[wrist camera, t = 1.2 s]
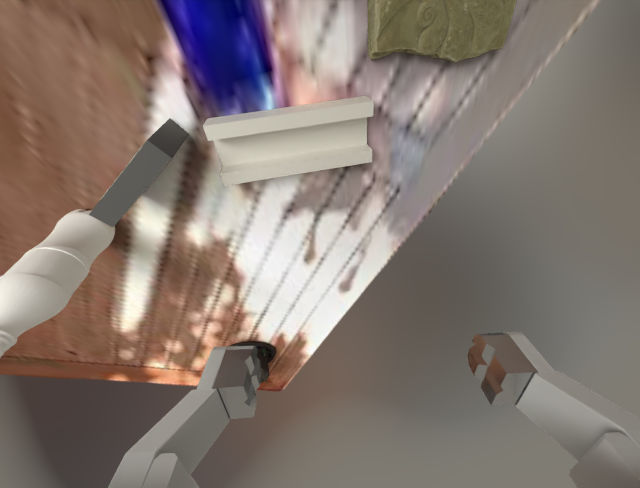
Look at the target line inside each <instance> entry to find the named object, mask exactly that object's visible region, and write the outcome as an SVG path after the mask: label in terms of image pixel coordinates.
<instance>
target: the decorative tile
mask: <svg viewBox="0 0 640 488" xmlns="http://www.w3.org/2000/svg"><path fill="white" fill-rule="evenodd" d="M516 1H517V0H368V56H369V59H377V58H382V57H384V56H387V55H389V54H391V53H393V52H405V53H409V54H412V55H415V54H416V55H419V56H422V55H428V56H429V57H431V58H441V59H446V60H448V61H451V62H457V61H459V60H463V59H467V58H472V57H477V56H479V55H481V54H484V53H486V52H488V51H492V50H497V49H502V47H503V46H504V42H505V39H506V36H507V33H508V29H509V26H510V23H511V20H512V16H513V12H514V8H515V4H516Z"/></svg>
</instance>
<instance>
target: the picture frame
mask: <svg viewBox="0 0 640 488" xmlns="http://www.w3.org/2000/svg"><path fill="white" fill-rule="evenodd" d="M187 136H188V133H187V132H186V131H185V130H184V129H182V128H181V127H180V126H179V125H177V124H176V123H175V122H174V121H173V120H171V119H169V120H168V121H167V122H165V123H164V124H163V125H162V126H161V127H160V128H159V129H158V130H157V131H156V132H155V133H154V134H153V135H152V136H151V137H150V138H149V139H148V140H147V141H146V142H145V144H144V145H143V146H142V147H141V148H140V150H139V151H138V152H137V154H136V155H135V156H134V157H133V159H132V160H131V161H130V162H129V164H128V165H127V166H126V168H125V169H124V170H123V171H122V173H121V174H120V175H119V177H118V178H117V179H116V180H115V182H114V183H113V184H112V185H111V187H110V188H109V189H108V191H107V192H106V193H105V194H104V196H103V197H102V198H101V200H100V201H99V202H98V204H97V205H96V206H95V208H94V209H93V210H92V211H91V213H90V214H89V215H90V216H92V217H94V218H96V219H98V220H100V221H102V222H104V223H105V224H107V225H109V226H111V227H114V226H115V225H116V224H117V222H118V221H119V220H120V219H121V218H122V216H123V215H124V214H125V213H126V212H127V211H128V210H129V209H130V208H131V206H132V205H133V204H134V203H135V202H136V201H137V199H138V198H139V197H140V196H141V195H142V194H143V192H144V191H145V190H146V189H147V188H148V186H149V185H150V184H151V183H152V182H153V181H154V179H155V178H156V177H157V176H158V175H159V173H160V172H161V171H162V170H163V169H164V168H165V166H166V165H167V164H168V162H169V161H170V160H171V159H172V157H173V156H174V155H175V153H176V152H177V150H178V149H179V147H180V146H181V144H182V143H183V142H184V140H185V139H186V137H187Z"/></svg>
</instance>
